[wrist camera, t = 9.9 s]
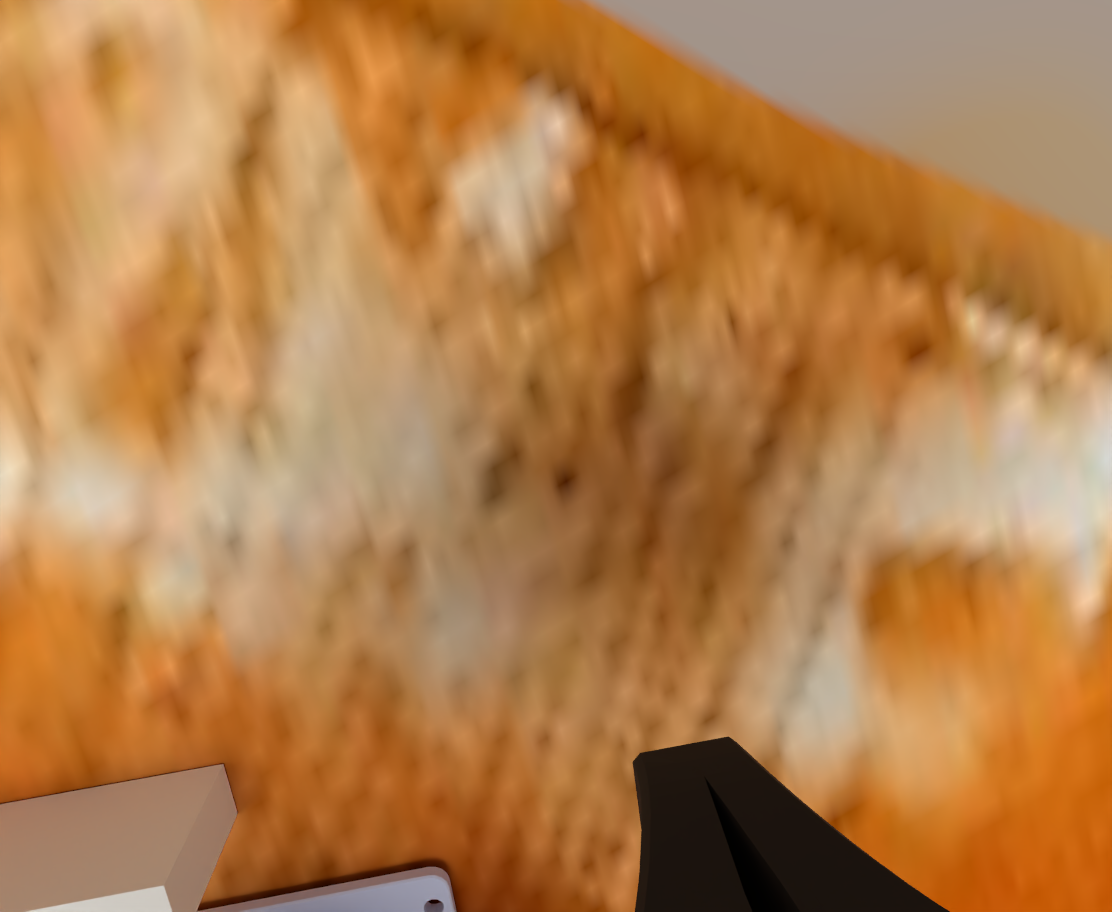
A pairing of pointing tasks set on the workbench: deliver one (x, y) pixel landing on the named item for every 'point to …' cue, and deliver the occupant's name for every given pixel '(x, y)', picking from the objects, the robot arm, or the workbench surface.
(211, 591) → the workbench surface
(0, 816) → the shelf wall
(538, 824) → the workbench surface
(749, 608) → the workbench surface
